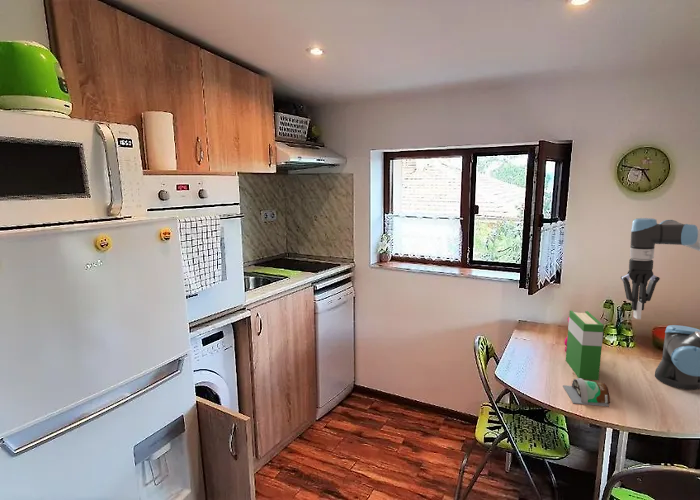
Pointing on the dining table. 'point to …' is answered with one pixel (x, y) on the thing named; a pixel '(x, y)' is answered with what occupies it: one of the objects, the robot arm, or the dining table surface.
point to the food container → (591, 391)
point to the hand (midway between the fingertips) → (636, 318)
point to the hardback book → (584, 345)
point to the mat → (577, 399)
